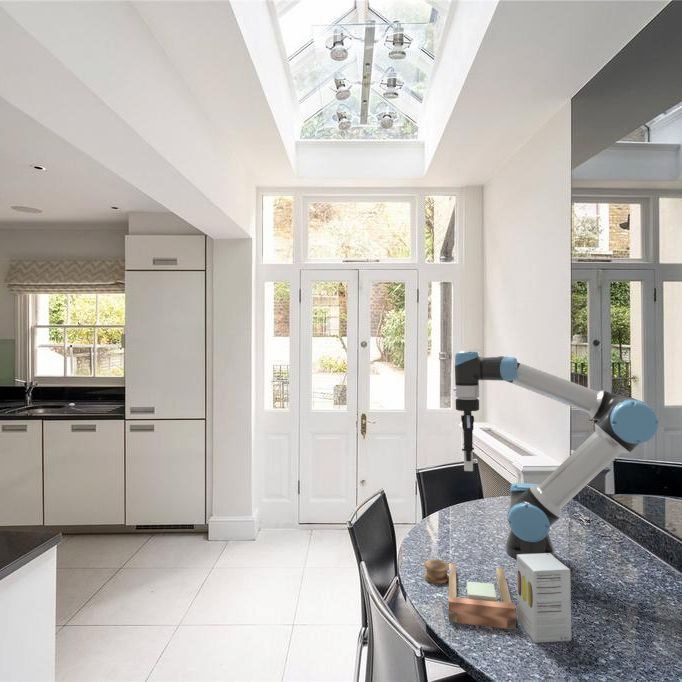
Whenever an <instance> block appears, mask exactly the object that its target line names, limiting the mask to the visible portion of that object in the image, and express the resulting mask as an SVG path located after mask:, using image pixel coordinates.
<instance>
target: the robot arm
mask: <svg viewBox="0 0 682 682" xmlns="http://www.w3.org/2000/svg"><path fill="white" fill-rule="evenodd" d="M454 355H455V356H454V383H455V384H454V385H455V387H454V388H453V392H455V397H456V399H455V410H456V411H459V412H463V414H462V415H460V417H461V418H460V420H461V427H462V431H463V432H462V433H463V444H462V445H463V448H461V451H462V452H463V470H464V472H473V471H474V458H473V457H474V455H473V453H474V452H473V451H474V450H475V447H474V446H473V443H474V441H473V430H474V422H475V416H474V415H472V412H477V411H479V410H480V400H479V399H478V398H479V397H480V384H479V382H480V381H500V382H501V381H502V382H503V381H505V382H507V383H509V384H513V385H514V386H518V387H520V388H522V389H526V390H528V391H531V392H533V393H535V394H538V395H541V396H544V397H546V398H549V399H551V400H554V401H556V402H559V403H562V404H564V405H566V406H569V407H572V408H574V409H577V410H579V411H582V412H584V413H587V414H588V415H589V416H590V418H591V419H594V420H597V421H596V422H595V423H594V432H593V433H592V434H591V435H590V436H588V438H587V439H586V440H585V441H584V442H582V443H581V445H579V446H578V447H577V448H576V449H575V450H574V451H573V452H572V453H571V454H570V455H569V456H568V457H567V458H566V459H565V460H564V461H563V462H562V463H561V464H560V465H559V466H558V467H556V468H555V470H554V471H553V472H552V473H551V474H550V475H549V476H547V477H546V479H544V480H543V481H542V482H541V483H540V484H536V483H527V482H526V483H525V482H516V483H515V482H514V483H512V484H511V485H510V490H509V493H510V503H509V509H508V512H507V522H508V526H509V528H510V531H509V533H508V537H507V540H506V542H505V551H506V553H507V554H508V555H509V556H510V557H512V558H514V559H516V560H517V555H518V554H540V553H551V554H552V555H553V556H554V557H555V548H554V546H553V545H554V544H553V543H552V539H551V536H550V533H549V531H550V529H551V527H552V526H553V525H554V524H555V523H557V521H558V520H560V518H561V517H562V516H563V515H562V508H563V507H565V506H566V504H568V503H569V502H570V501H571V500H572V499H573V498H575V496H576V495H577V494H578V493H580V492H581V491H582V489H584V488H585V487H586V486H587V485H588V484H589V483H590V482H591V481H592V480H593V479H595V477H596V476H598V475H599V473H601V472H602V471H603V470H604V469H606V467H607V466H609V464H610V463H612V462H613V461H614V460H615V459H616V458H617V457H618V456H619V455H620V454H630V453H631V452H632V451H634V449H635V448H636V447H638V446H639V445H640V444H644V443H647V442H649V441H650V440H652V439H653V438H654V437H655V436H656V434H657V432H658V429H659V418H658V415H657V414H656V412H655V411H654V409H653V408H652V407H650V405H648V404H647V403H645V402H644V401H642V400H638V399H636V398H634V397H631V396H630V397H629V396H626V395H619V394H615V393H612V392H609V391H606V390H603V389H602V390H599V391H596V390H595V389H591V388H589V387H586V386H583V385H581V384H578V383H576V382H573V381H571V380H567V379H565V378H562V377H559V376H556V375H554V374H551V373H548V372H545V371H542V370H540V369H537V368H534V367H532V366H530V365H527V364H524V363H521V362H518V359H517V358H516V357H513V356H490V357H489V356H488V357H485V356H484V357H483V356H480V355H479V352H478V351H476V350H474V351H457V352H456V353H455V354H454Z"/></svg>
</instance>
